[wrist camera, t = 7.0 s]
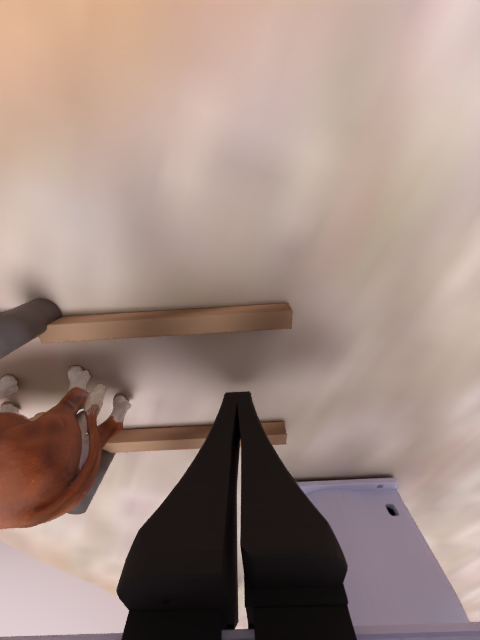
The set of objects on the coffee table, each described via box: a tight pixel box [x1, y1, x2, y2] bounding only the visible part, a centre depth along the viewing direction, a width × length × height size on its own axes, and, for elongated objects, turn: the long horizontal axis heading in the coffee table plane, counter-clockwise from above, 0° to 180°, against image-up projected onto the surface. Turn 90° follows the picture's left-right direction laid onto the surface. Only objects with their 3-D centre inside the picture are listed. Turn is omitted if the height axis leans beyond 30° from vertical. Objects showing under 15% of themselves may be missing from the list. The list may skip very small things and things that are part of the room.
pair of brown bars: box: [0, 298, 292, 514], centre depth 12 cm, size 14×12×4 cm
